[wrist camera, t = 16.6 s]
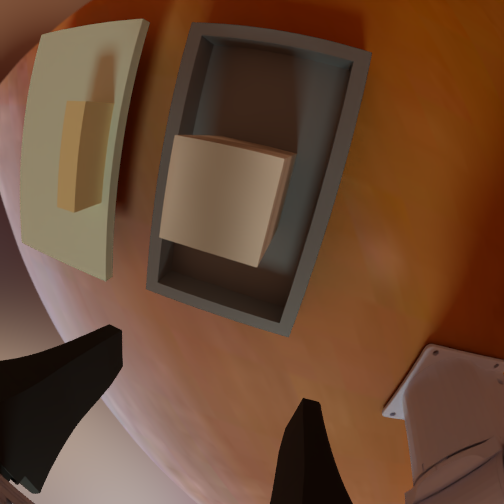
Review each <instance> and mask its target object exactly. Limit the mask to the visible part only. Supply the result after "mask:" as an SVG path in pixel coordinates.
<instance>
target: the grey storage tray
mask: <svg viewBox="0 0 504 504" xmlns="http://www.w3.org/2000/svg"><path fill="white" fill-rule="evenodd" d="M371 55H372V53H371V52H368V51H365V50H361V49H358V48H355V47H351V46H348V45H344V44H340V43H336V42H332V41H328V40H324V39H320V38H316V37H311V36H306V35H301V34H296V33H291V32H285V31H279V30H273V29H266V28H259V27H251V26H241V25H231V24H217V23H195V22H192V24H191V28H190V31H189V34H188V38H187V42H186V45H185V49H184V53H183V57H182V60H181V64H180V68H179V72H178V77H177V81H176V85H175V89H174V94H173V98H172V103H171V108H170V112H169V117H168V122H167V128H166V133H165V138H164V144H163V149H162V155H161V161H160V167H159V174H158V180H157V187H156V195H155V202H154V210H153V218H152V227H151V236H150V246H149V257H148V269H147V283H146V289H147V290H150V291H152V292H155V293H158V294H160V295H163V296H166V297H168V298H171V299H174V300H176V301H179V302H182V303H185V304H188V305H190V306H193V307H196V308H199V309H202V310H205V311H208V312H210V313H213V314H216V315H219V316H222V317H225V318H228V319H231V320H234V321H237V322H241V323H244V324H247V325H250V326H253V327H256V328H259V329H263V330H266V331H269V332H272V333H276V334H279V335H282V336H286V337H289V335H290V333H291V330H292V327H293V324H294V322H295V319H296V316H297V313H298V311H299V308H300V305H301V302H302V299H303V297H304V294H305V291H306V288H307V285H308V282H309V279H310V276H311V273H312V270H313V267H314V264H315V261H316V258H317V255H318V252H319V249H320V246H321V243H322V240H323V237H324V234H325V230H326V227H327V224H328V221H329V218H330V214H331V211H332V208H333V204H334V201H335V198H336V194H337V191H338V187H339V184H340V180H341V177H342V173H343V170H344V166H345V163H346V159H347V155H348V152H349V148H350V144H351V140H352V136H353V133H354V129H355V125H356V121H357V117H358V113H359V109H360V104H361V100H362V96H363V92H364V87H365V83H366V78H367V74H368V69H369V65H370V60H371ZM175 135H210V136H224V137H229V138H234V139H238V140H243V141H247V142H252V143H256V144H260V145H264V146H269V147H273V148H277V149H281V150H284V151H288V152H292V153H296V154H297V156H296V160H295V164H294V168H293V172H292V176H291V180H290V184H289V187H288V191H287V195H286V199H285V203H284V207H283V210H282V214H281V218H280V222H279V225H278V229H277V231H276V233H275V235H274V236H273V238H272V240H271V242H270V244H269V246H268V248H267V250H266V252H265V254H264V255H263V257H262V259H261V261H260V263H259V265H258V267H253V266H250V265H247V264H243V263H240V262H237V261H234V260H230V259H227V258H224V257H221V256H217V255H214V254H211V253H208V252H204V251H201V250H198V249H195V248H191V247H188V246H185V245H182V244H179V243H175V242H172V241H169V240H166V239H163V238H160V237H159V234H160V226H161V218H162V211H163V203H164V196H165V189H166V183H167V176H168V170H169V164H170V158H171V153H172V147H173V142H174V136H175Z"/></svg>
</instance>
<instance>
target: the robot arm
mask: <svg viewBox="0 0 504 504" xmlns="http://www.w3.org/2000/svg"><path fill="white" fill-rule="evenodd" d="M436 350H437V352H435V353H433V352H434V351H436ZM495 364H496V365H495ZM122 367H123V359H122V330H120V329H118V328H116V327H114V326H112V325H110V324H109V325H107V326H104V327H102V328H100V329H97V330H95V331H93V332H91V333H88V334H86V335H84V336H81V337H79V338H77V339H74V340H72V341H70V342H67V343H65V344H62V345H59V346H57V347H54V348H51V349H48V350H45V351H43V352H39V353H36V354H32V355H29V356H24V357H20V358H16V359H9V360H3V361H0V504H12V503H13V504H34V503H33V502H32V501H31V500H29V499H28V498H27V497H26V496H24V495H23V494H22V493H21V492H20V491H18V490H17V489H16V488H15V487H14V486H13V485H12V484H10V483H9V481H10V479H11V480H12V481H13V482H14V483H15V484H17V485H18V484H19V483H20V484H21V485H23V486H24V487H25V488H26V489H27V490H29V491H30V492H31V493H35V494H36V493H40V492H41V489H42V487H43V485H44V482H45V480H46V478H47V476H48V473H49V471H50V469H51V467H52V466H53V464H54V462H55V460H56V458H57V456H58V454H59V452H60V451H61V449H62V447H63V446H64V444H65V442H66V441H67V439H68V438H69V436H70V435H71V433H72V432H73V430H74V428H75V427H76V426H77V424H78V423H79V422H80V420H81V419H82V418H83V417H84V416H85V414H86V413H87V412H88V411H89V410H90V409H91V407H92V406H93V405H94V404H95V403H96V402H97V401H98V400H99V398H100V397H101V396H102V395H103V394H104V392H105V391H106V390H107V389H108V388H109V387H110V385H111V384H112V382H113V381H114V379H115V378H116V376H117V375H118V373H119V372H120V370H121V368H122ZM503 372H504V360H501V359H496V358H492V357H487V356H483V355H478V354H474V353H469V352H465V351H461V350H456V349H452V348H448V347H444V346H439V345H435V344H428V345H427V346H426V347H425V348H424V349H423V351H422V353H421V354H420V356H419V358H418V359H417V361H416V362H415V364H414V366H413V367H412V369H411V370H410V372H409V373H408V375H407V376H406V378H405V379H404V381H403V382H402V384H401V385H400V386H399V388H398V389H397V391H396V392H395V394H394V395H393V396H392V398H391V399H390V401H389V402H388V403H387V405H386V406H385V407H384V409H383V410H382V415H383V416H385V417H390V418H397V419H404V420H405V425H406V431H407V437H408V444H409V451H410V459H411V467H412V476H413V486H414V487H413V488H412V489H411V490H409V491H407V492H406V493H405V504H504V375H503ZM270 504H353V503H352V501H351V499H350V497H349V495H348V493H347V491H346V489H345V486H344V484H343V482H342V479H341V477H340V474H339V472H338V469H337V466H336V463H335V460H334V457H333V454H332V451H331V447H330V444H329V441H328V437H327V433H326V429H325V425H324V420H323V416H322V411H321V405H320V403H319V402H317V401H313V400H309V399H305V398H303V399H302V401H301V402H300V404H299V406H298V408H297V410H296V411H295V413H294V415H293V416H292V418H291V420H290V422H289V423H288V425H287V427H286V428H285V432H284V435H283V439H282V442H281V446H280V450H279V455H278V461H277V467H276V473H275V479H274V485H273V491H272V497H271V501H270Z"/></svg>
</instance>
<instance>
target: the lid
mask: <svg viewBox="0 0 504 504" xmlns="http://www.w3.org/2000/svg"><path fill="white" fill-rule="evenodd" d="M149 24H150V22H148V21H146V20H145V19H132V20H121V21H113V22H105V23H98V24H91V25H85V26H79V27H74V28H69V29H64V30H60V31H55V32H51V33H47V34H43V35H42V36H41V39H40V43H39V46H38V50H37V54H36V58H35V63H34V67H33V72H32V77H31V82H30V87H29V92H28V98H27V105H26V112H25V119H24V128H23V138H22V150H21V168H20V218H21V236H22V243H24V244H26V245H28V246H30V247H32V248H34V249H36V250H38V251H40V252H42V253H44V254H46V255H48V256H50V257H52V258H55V259H57V260H59V261H61V262H63V263H65V264H67V265H70V266H72V267H74V268H76V269H78V270H81V271H83V272H85V273H87V274H90V275H92V276H94V277H96V278H99V279H101V280H103V281H107V280H108V279H110V278H111V277H112V268H113V238H114V221H115V207H116V196H117V186H118V177H119V168H120V160H121V153H122V146H123V139H124V133H125V127H126V121H127V116H128V110H129V105H130V100H131V95H132V90H133V86H134V81H135V77H136V72H137V68H138V64H139V60H140V56H141V52H142V49H143V45H144V41H145V38H146V34H147V31H148V27H149Z"/></svg>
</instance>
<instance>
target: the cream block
mask: <svg viewBox="0 0 504 504" xmlns="http://www.w3.org/2000/svg"><path fill="white" fill-rule="evenodd" d="M296 156H297V154H296V153H292V152H288V151H284V150H281V149H277V148H273V147H269V146H264V145H260V144H256V143H252V142H247V141H243V140H238V139H234V138H229V137H224V136H210V135H175V136H174V142H173V147H172V153H171V158H170V164H169V170H168V176H167V183H166V189H165V196H164V203H163V211H162V218H161V226H160V234H159V237H160V238H163V239H166V240H169V241H172V242H175V243H179V244H182V245H185V246H188V247H191V248H195V249H198V250H201V251H204V252H208V253H211V254H214V255H217V256H221V257H224V258H227V259H230V260H234V261H237V262H240V263H243V264H247V265H250V266H253V267H258V265H259V263H260V261H261V259H262V257H263V255H264V254H265V252H266V250H267V248H268V246H269V244H270V242H271V240H272V238H273V236H274V235H275V233H276V231H277V229H278V225H279V222H280V218H281V214H282V210H283V207H284V203H285V199H286V195H287V191H288V187H289V184H290V180H291V176H292V172H293V168H294V164H295V160H296Z"/></svg>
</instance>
